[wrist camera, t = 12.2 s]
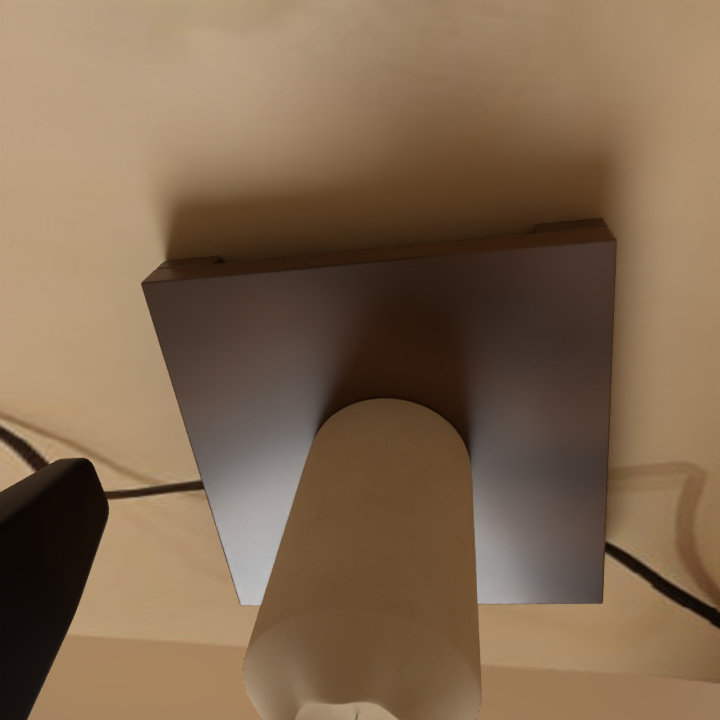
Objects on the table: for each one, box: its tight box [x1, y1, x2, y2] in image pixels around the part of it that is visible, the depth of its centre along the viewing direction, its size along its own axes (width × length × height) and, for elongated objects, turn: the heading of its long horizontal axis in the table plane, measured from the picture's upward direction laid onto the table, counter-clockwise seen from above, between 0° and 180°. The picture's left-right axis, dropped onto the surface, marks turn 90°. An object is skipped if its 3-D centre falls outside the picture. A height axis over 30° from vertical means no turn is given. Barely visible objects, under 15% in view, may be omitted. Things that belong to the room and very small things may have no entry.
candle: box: [243, 398, 481, 720], centre depth 19 cm, size 6×6×10 cm
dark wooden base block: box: [141, 218, 617, 606], centre depth 24 cm, size 14×14×2 cm
